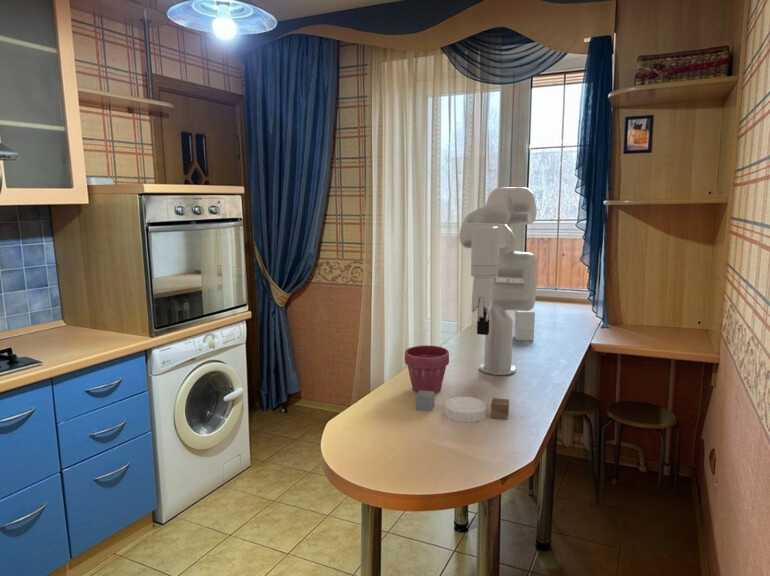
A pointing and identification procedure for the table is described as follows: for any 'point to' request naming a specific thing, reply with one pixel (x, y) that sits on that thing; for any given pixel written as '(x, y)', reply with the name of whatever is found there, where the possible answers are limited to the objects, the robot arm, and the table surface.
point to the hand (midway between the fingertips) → (483, 333)
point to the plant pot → (426, 367)
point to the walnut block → (500, 408)
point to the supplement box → (524, 325)
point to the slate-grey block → (425, 400)
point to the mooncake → (465, 409)
